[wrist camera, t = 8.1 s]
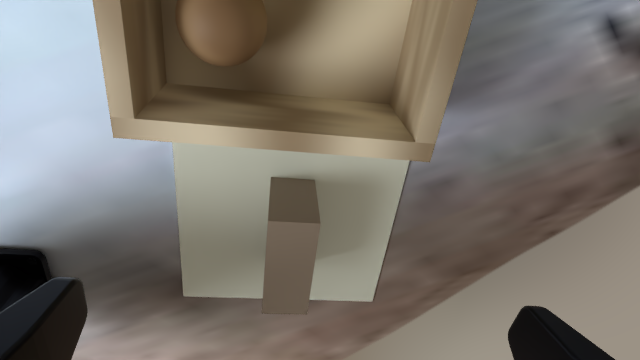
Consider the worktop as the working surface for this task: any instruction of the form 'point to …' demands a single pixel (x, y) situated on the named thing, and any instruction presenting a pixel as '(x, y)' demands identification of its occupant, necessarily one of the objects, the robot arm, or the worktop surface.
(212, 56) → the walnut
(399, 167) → the lid
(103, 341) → the worktop surface
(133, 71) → the box
